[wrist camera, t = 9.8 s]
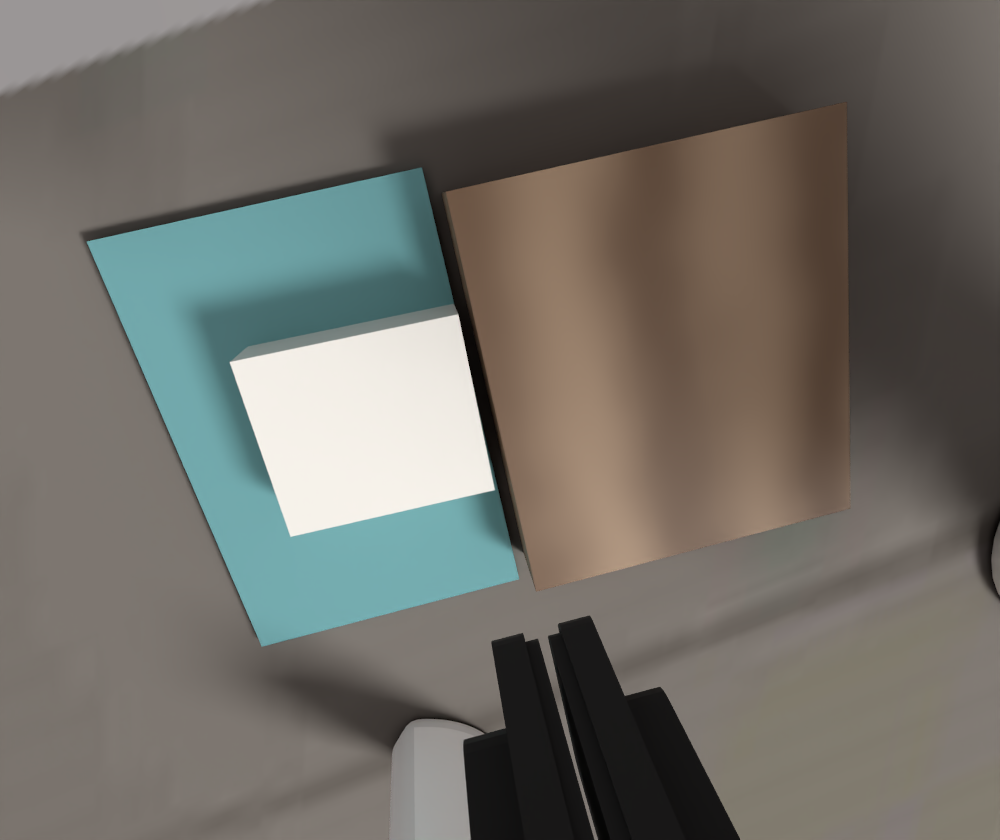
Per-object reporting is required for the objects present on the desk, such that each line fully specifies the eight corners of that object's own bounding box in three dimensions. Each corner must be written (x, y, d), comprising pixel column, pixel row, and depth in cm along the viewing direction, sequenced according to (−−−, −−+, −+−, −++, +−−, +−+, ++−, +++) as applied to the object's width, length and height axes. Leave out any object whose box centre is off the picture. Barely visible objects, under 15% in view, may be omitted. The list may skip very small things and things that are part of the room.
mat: (421, 167, 23) (422, 167, 22) (517, 574, 29) (519, 579, 28) (92, 241, 22) (86, 241, 22) (263, 640, 28) (261, 646, 28)
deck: (795, 114, 24) (846, 101, 21) (808, 479, 29) (850, 508, 27) (441, 193, 23) (445, 191, 20) (523, 553, 29) (536, 591, 26)
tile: (453, 303, 24) (458, 314, 22) (487, 464, 26) (494, 489, 24) (247, 346, 23) (229, 362, 21) (301, 506, 26) (290, 536, 24)
